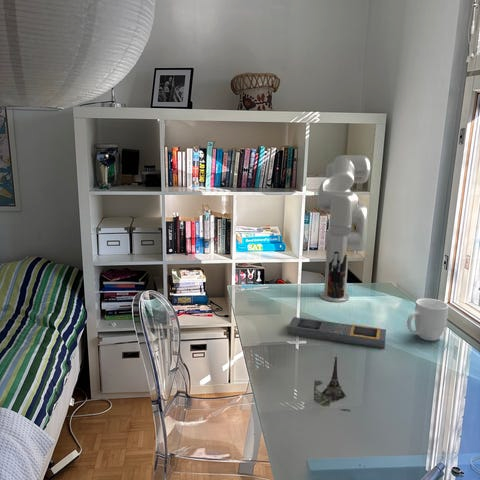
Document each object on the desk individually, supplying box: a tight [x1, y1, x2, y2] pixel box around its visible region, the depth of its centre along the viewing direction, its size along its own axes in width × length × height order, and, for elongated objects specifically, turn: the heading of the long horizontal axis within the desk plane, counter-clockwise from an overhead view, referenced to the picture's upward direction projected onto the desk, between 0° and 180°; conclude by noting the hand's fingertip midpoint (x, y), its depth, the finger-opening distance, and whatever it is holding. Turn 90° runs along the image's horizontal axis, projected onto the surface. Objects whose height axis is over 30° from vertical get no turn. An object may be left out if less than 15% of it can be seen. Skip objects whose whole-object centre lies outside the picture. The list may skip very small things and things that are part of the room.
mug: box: [406, 298, 449, 342], centre depth 174 cm, size 15×11×13 cm
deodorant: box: [327, 254, 348, 298], centre depth 171 cm, size 6×6×15 cm
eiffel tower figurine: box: [313, 355, 351, 412], centre depth 135 cm, size 15×10×13 cm
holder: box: [287, 316, 387, 349], centre depth 175 cm, size 10×34×3 cm, turn 72°
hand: (336, 279), depth 171 cm, fingers closed on deodorant, 5 cm apart
